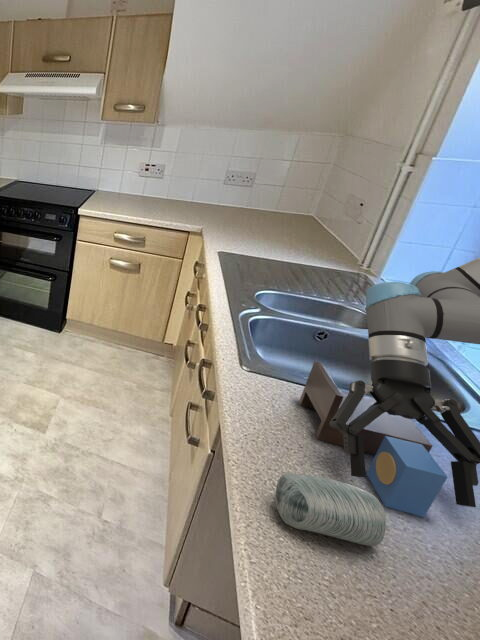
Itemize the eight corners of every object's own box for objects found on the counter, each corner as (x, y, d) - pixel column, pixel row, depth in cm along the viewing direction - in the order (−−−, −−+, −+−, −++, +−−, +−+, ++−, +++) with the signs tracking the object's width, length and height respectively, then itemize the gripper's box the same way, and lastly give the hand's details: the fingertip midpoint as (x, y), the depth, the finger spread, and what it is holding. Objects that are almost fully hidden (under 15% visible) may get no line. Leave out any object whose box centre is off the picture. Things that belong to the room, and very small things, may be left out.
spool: (282, 529, 61) (308, 467, 62) (255, 500, 71) (278, 446, 71) (389, 584, 58) (416, 518, 58) (345, 546, 67) (369, 489, 67)
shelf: (389, 423, 87) (410, 380, 83) (421, 466, 77) (447, 419, 73) (298, 402, 93) (314, 361, 89) (317, 439, 83) (335, 395, 79)
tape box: (402, 483, 73) (423, 444, 70) (425, 518, 67) (449, 477, 64) (365, 473, 75) (383, 435, 72) (383, 506, 69) (405, 465, 66)
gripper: (324, 343, 77) (328, 465, 69) (510, 378, 68) (538, 522, 60) (306, 352, 83) (308, 465, 76) (474, 385, 74) (494, 516, 67)
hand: (410, 490), depth 68 cm, fingers open, 13 cm apart
